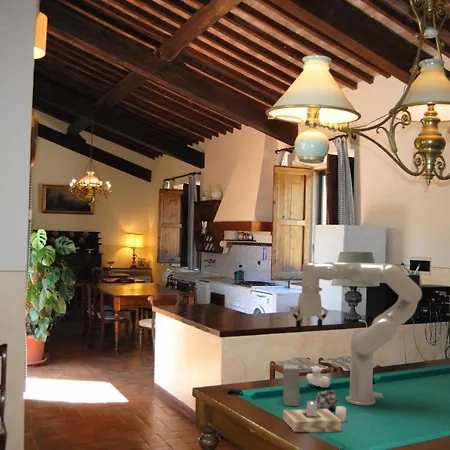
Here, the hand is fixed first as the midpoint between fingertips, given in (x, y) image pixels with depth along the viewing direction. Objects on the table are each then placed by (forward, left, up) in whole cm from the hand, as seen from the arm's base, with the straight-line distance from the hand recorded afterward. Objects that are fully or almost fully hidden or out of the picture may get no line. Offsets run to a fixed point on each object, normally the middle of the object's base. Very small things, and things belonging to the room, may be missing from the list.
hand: (309, 329), depth 257 cm
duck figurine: (-11, -16, -31) cm, 36 cm away
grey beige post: (+11, +36, -30) cm, 48 cm away
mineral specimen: (-2, +18, -31) cm, 36 cm away
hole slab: (+11, +36, -30) cm, 48 cm away
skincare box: (+10, +8, -31) cm, 33 cm away
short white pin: (-3, +31, -30) cm, 44 cm away
